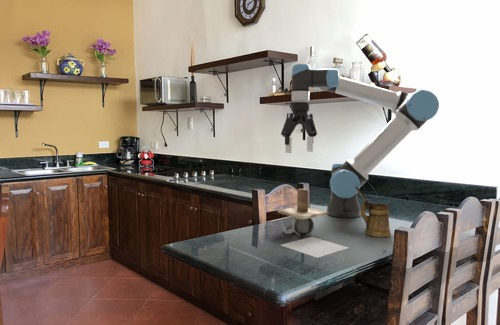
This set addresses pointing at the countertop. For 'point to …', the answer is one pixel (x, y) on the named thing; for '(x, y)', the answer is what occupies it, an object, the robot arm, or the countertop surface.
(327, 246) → the mat
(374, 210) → the wooden mug
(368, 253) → the countertop surface
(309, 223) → the ceramic mug
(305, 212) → the lid
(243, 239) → the countertop surface
